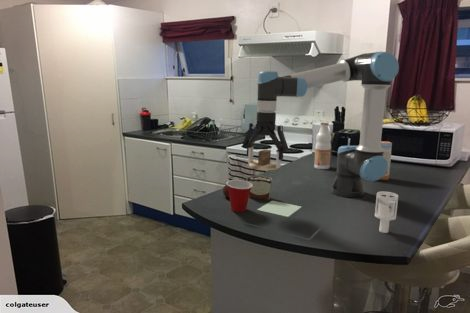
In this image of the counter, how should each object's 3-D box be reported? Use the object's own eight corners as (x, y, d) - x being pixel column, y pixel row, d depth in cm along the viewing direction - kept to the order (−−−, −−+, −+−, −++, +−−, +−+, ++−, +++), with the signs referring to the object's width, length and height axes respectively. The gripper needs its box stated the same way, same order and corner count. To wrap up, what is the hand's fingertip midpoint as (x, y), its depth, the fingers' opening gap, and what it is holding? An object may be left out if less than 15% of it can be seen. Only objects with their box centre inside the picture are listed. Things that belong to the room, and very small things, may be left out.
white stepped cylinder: (373, 233, 129) (377, 192, 126) (373, 226, 135) (377, 187, 132) (394, 236, 127) (399, 195, 123) (393, 229, 133) (398, 189, 130)
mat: (301, 208, 154) (301, 206, 154) (287, 218, 142) (288, 216, 142) (272, 201, 161) (272, 200, 161) (256, 211, 150) (256, 209, 150)
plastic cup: (250, 216, 143) (250, 187, 141) (223, 214, 145) (223, 185, 143) (254, 207, 154) (254, 180, 151) (229, 205, 156) (229, 178, 153)
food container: (275, 197, 167) (275, 176, 165) (272, 201, 162) (272, 179, 160) (249, 194, 171) (250, 174, 169) (245, 198, 166) (246, 177, 164)
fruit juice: (311, 167, 226) (313, 122, 220) (319, 165, 233) (322, 121, 227) (324, 170, 220) (327, 124, 214) (332, 167, 226) (335, 123, 220)
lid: (283, 166, 149) (284, 150, 147) (270, 171, 139) (271, 155, 137) (257, 162, 155) (258, 147, 154) (243, 167, 145) (244, 151, 144)
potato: (229, 193, 172) (229, 181, 171) (245, 198, 166) (245, 185, 165) (218, 197, 167) (218, 184, 166) (235, 202, 161) (235, 188, 159)
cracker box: (385, 177, 204) (389, 140, 200) (388, 180, 199) (392, 142, 194) (360, 176, 206) (363, 140, 201) (362, 179, 200) (365, 142, 196)
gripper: (298, 113, 139) (295, 167, 144) (244, 109, 152) (243, 159, 156) (291, 114, 133) (287, 171, 137) (235, 110, 146) (233, 162, 150)
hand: (264, 165), depth 147 cm, fingers closed on lid, 12 cm apart
